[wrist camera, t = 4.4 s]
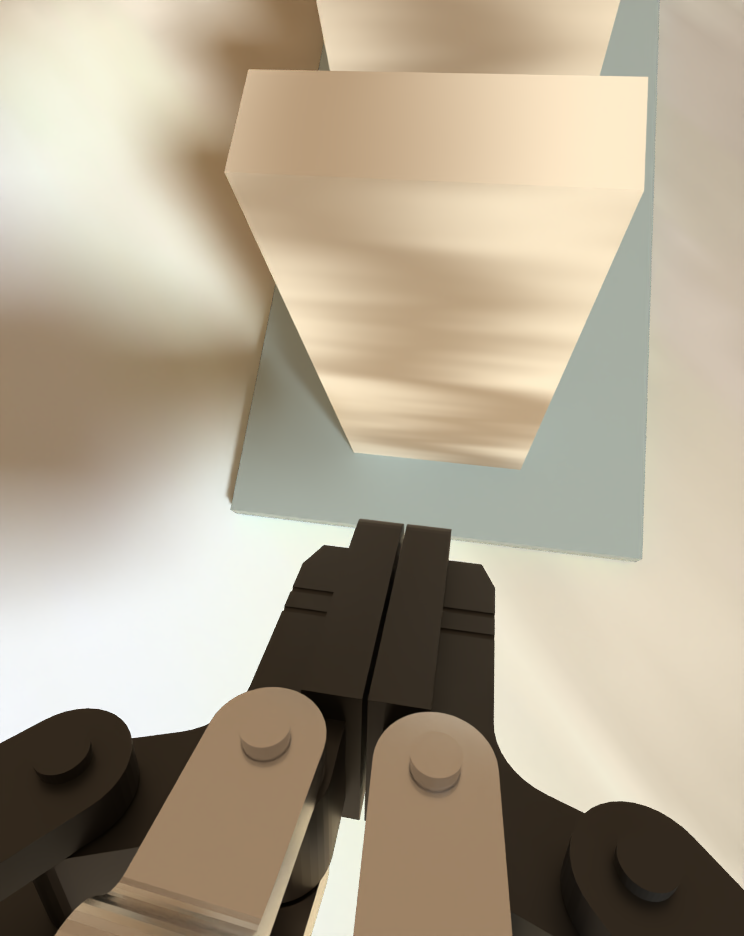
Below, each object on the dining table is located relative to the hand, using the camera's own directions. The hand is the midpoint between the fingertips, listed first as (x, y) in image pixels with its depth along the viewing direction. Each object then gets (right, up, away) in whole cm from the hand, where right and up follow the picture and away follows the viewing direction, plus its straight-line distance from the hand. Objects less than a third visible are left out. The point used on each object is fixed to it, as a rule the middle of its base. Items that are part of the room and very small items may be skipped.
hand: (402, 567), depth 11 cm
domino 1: (+1, +3, +9) cm, 9 cm away
